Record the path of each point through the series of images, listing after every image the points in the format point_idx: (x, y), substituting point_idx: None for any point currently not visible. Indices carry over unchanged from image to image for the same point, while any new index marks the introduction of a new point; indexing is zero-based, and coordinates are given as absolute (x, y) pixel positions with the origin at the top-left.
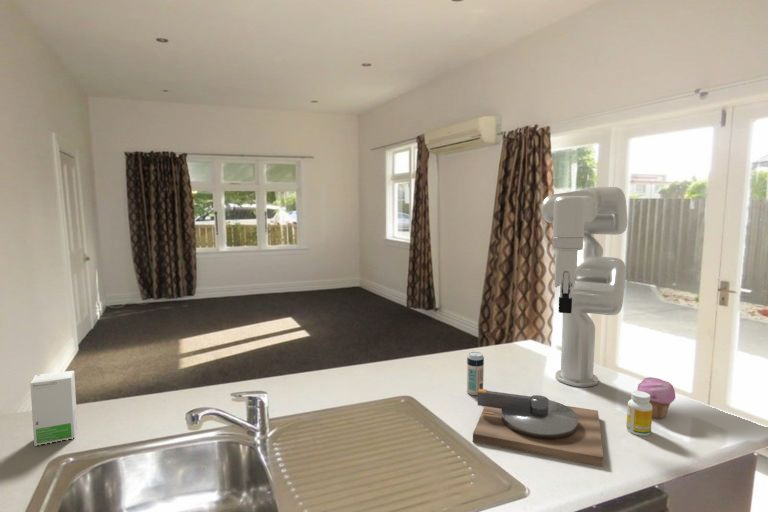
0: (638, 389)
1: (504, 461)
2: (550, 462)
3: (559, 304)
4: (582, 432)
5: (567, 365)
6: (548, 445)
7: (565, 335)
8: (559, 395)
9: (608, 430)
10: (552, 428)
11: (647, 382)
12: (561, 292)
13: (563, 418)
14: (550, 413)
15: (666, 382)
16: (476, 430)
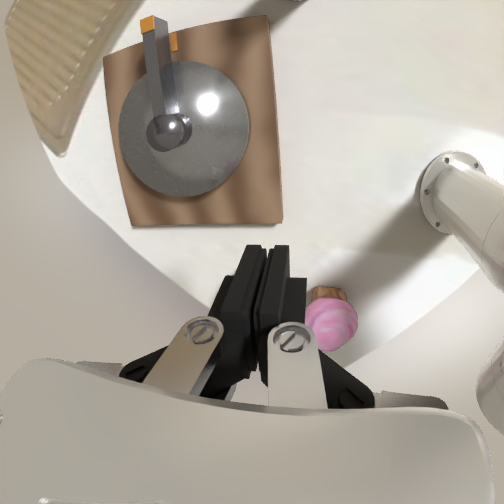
0: (324, 304)
1: (89, 113)
2: (113, 162)
3: (234, 278)
4: (181, 198)
5: (453, 182)
6: (120, 158)
7: (500, 204)
8: (365, 151)
9: (241, 231)
10: (133, 162)
11: (320, 326)
12: (131, 364)
13: (175, 173)
14: (183, 149)
15: (327, 348)
16: (112, 56)
